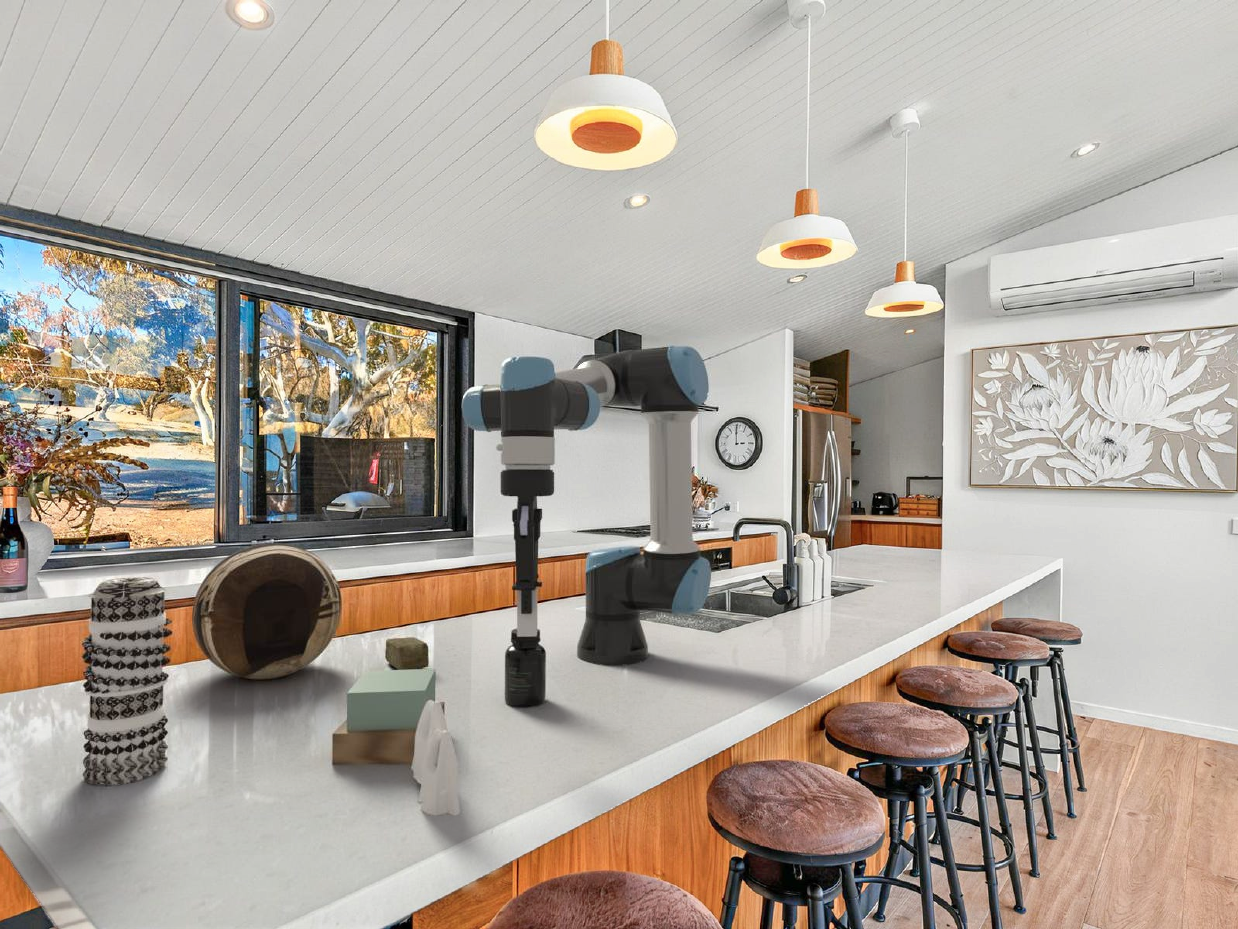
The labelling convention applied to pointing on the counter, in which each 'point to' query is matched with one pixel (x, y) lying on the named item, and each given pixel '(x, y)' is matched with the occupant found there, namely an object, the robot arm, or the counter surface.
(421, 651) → the stone block
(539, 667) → the supplement bottle
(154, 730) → the decorative candle
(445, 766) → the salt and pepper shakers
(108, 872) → the counter surface
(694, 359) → the robot arm
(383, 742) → the walnut base block
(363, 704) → the sage top block
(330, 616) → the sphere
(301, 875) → the counter surface
